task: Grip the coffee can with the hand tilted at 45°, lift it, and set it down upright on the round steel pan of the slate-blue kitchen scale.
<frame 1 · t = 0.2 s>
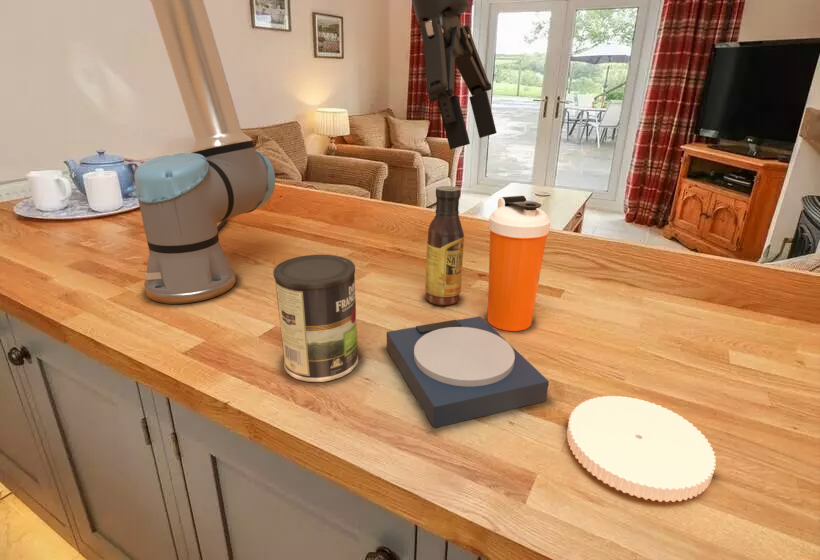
hand: (475, 141, 73), 28 cm above the counter, tool tilted 20°, fingers open, 13 cm apart
plastic lid: (633, 457, 52), on the counter
kitchen scale: (459, 373, 66), on the counter
shaker bottle: (509, 322, 80), on the counter
sauce bottle: (442, 300, 87), on the counter
coffee can: (321, 362, 68), on the counter
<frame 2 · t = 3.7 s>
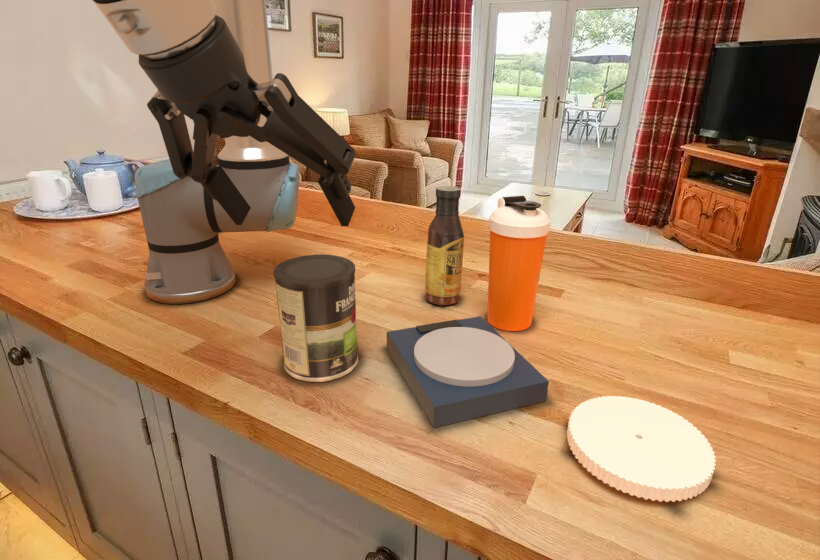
hand: (294, 216, 55), 22 cm above the counter, tool tilted 35°, fingers open, 13 cm apart
nothing on the counter moved.
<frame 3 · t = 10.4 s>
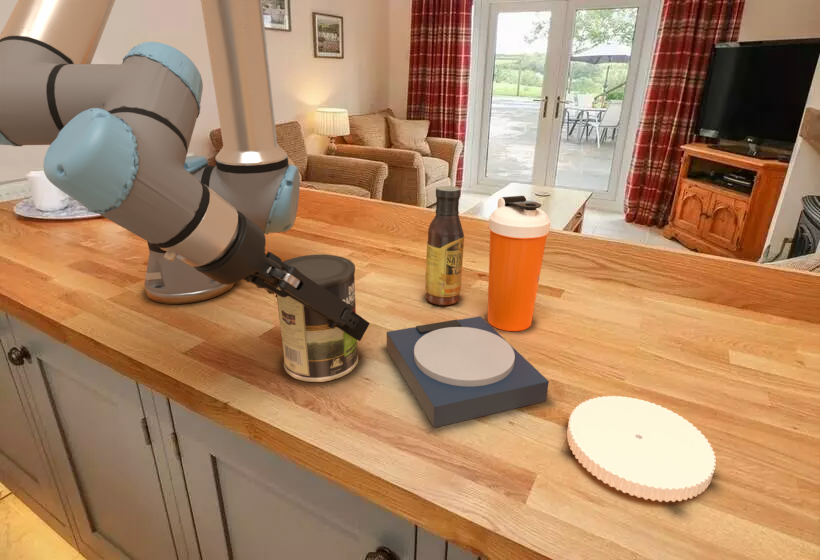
hand: (335, 318, 68), 5 cm above the counter, tool tilted 45°, fingers closed on coffee can, 10 cm apart
coffee can: (321, 362, 68), on the counter, touching gripper
everything else where it was.
when the fingers open (9 cm above the counter, at t = 18.9 s): coffee can stays where it is, resting on kitchen scale.
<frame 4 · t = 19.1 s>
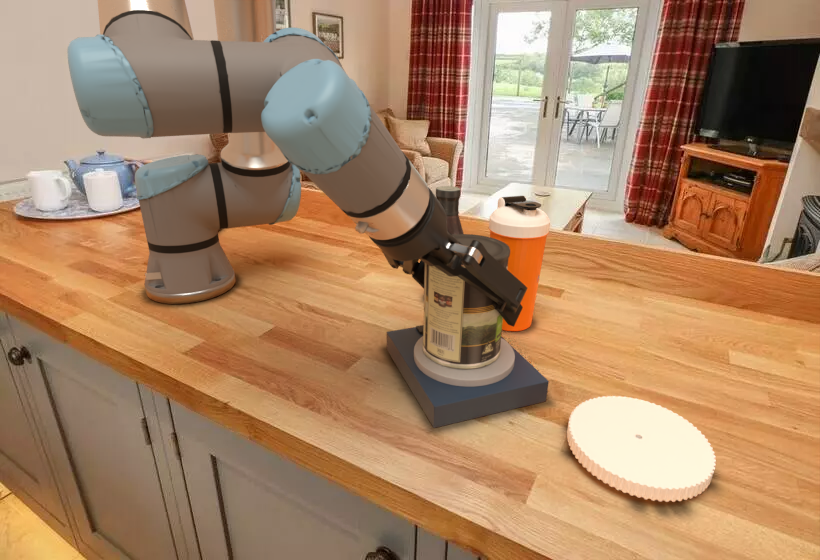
hand: (475, 302, 64), 10 cm above the counter, tool tilted 45°, fingers open, 11 cm apart
coffee can: (460, 349, 64), point 4 cm above the counter, touching kitchen scale
everything else where it was.
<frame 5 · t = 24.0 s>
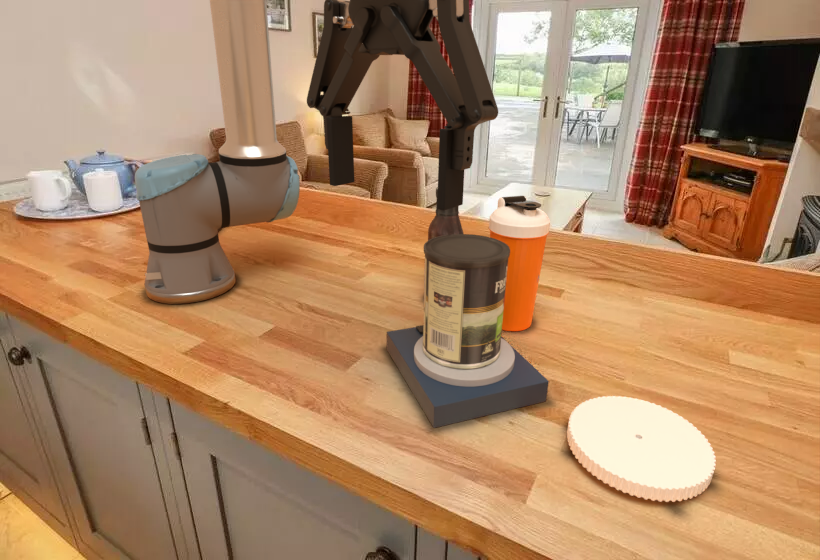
hand: (391, 194, 46), 27 cm above the counter, tool pointing down, fingers open, 13 cm apart
nothing on the counter moved.
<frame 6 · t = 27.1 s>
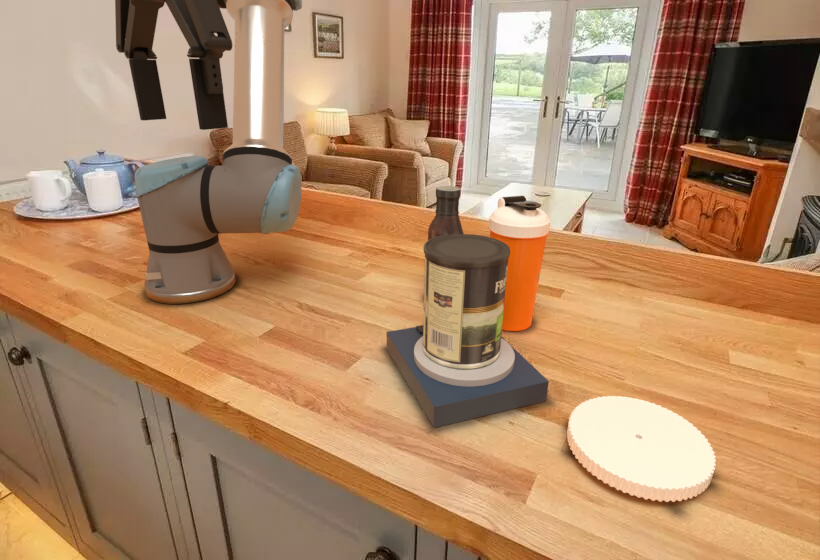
hand: (181, 124, 54), 32 cm above the counter, tool pointing down, fingers open, 13 cm apart
nothing on the counter moved.
at the end: coffee can inside the target area on the kitchen scale (0.8 cm from its centre), point 3.8 cm above the kitchen scale's base; coffee can tilted 0°; the gripper is holding nothing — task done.
